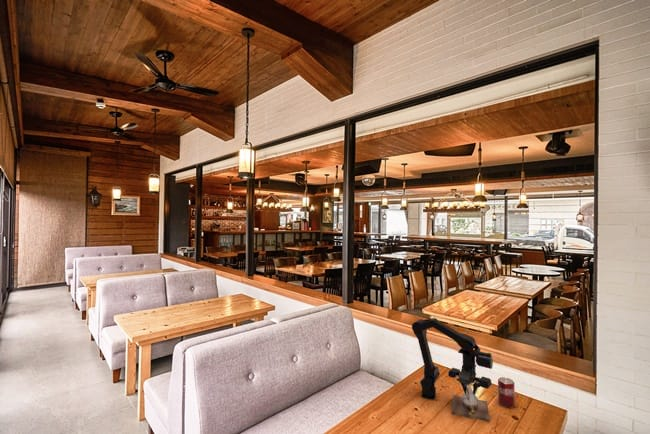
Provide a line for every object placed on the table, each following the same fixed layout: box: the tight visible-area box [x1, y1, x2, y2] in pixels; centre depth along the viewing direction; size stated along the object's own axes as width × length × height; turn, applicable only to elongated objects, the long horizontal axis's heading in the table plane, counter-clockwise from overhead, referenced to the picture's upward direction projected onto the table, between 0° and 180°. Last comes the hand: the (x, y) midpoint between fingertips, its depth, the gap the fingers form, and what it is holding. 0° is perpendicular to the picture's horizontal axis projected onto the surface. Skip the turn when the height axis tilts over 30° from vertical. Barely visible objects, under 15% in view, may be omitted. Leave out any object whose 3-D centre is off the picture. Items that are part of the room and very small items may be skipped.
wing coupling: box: [461, 383, 479, 412], centre depth 156 cm, size 12×7×8 cm, turn 167°
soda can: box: [497, 376, 516, 409], centre depth 160 cm, size 7×7×12 cm
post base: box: [451, 394, 490, 423], centre depth 157 cm, size 16×15×2 cm
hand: (469, 395), depth 157 cm, fingers closed on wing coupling, 3 cm apart
